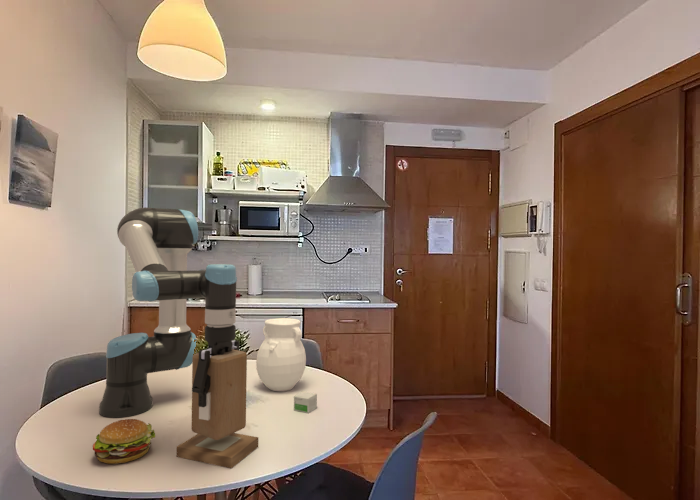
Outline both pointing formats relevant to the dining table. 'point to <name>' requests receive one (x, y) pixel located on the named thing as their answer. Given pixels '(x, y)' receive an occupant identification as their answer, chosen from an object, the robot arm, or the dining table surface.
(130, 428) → the food
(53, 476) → the dining table surface
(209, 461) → the board
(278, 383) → the pitcher
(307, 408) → the small box
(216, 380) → the wooden block
